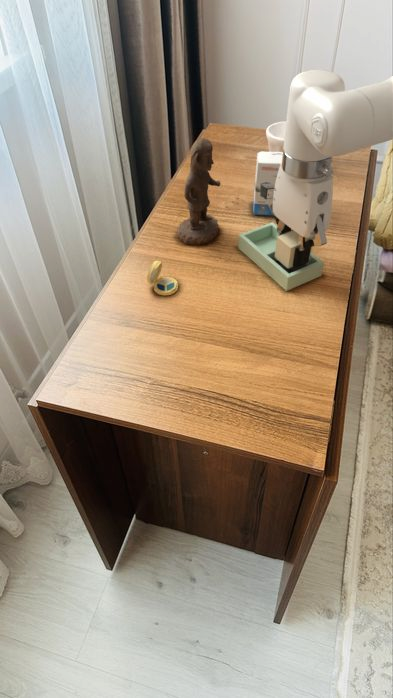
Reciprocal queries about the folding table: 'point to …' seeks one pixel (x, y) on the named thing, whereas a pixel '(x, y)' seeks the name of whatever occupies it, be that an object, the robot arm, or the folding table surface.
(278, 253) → the beige block
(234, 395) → the folding table surface
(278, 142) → the cup
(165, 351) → the folding table surface
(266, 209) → the ink box
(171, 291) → the eyeshadow
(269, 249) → the pad tray
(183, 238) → the figurine
